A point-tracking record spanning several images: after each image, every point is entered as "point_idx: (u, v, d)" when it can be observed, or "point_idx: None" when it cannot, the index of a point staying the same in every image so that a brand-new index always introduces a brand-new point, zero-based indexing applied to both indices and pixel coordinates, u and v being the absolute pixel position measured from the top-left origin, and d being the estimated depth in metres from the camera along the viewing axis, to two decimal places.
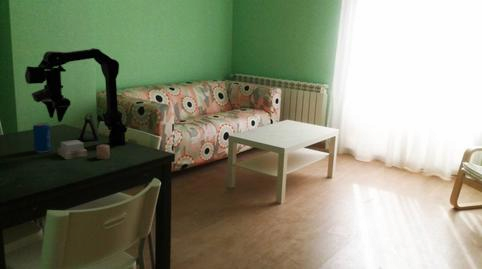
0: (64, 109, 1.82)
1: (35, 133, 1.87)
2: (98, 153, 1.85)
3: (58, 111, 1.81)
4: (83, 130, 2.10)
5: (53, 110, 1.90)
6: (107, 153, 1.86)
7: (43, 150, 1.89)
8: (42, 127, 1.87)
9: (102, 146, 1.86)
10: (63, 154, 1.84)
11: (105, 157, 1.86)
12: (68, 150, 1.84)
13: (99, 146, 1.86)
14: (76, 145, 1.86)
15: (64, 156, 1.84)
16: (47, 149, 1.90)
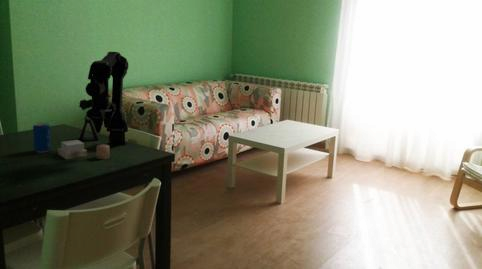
0: (100, 121, 1.78)
1: (35, 133, 1.87)
2: (98, 153, 1.85)
3: (94, 122, 1.78)
4: (83, 130, 2.10)
5: (108, 120, 1.89)
6: (107, 153, 1.86)
7: (43, 150, 1.89)
8: (42, 127, 1.87)
9: (102, 146, 1.86)
10: (63, 154, 1.84)
11: (105, 157, 1.86)
12: (68, 150, 1.84)
13: (99, 146, 1.86)
14: (76, 145, 1.86)
15: (64, 156, 1.84)
16: (47, 149, 1.90)
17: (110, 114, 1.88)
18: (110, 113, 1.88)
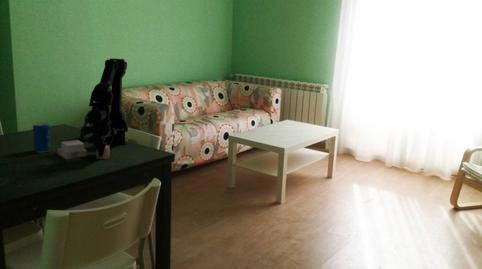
0: (102, 145, 1.82)
1: (35, 133, 1.87)
2: None
3: (97, 146, 1.82)
4: None
5: None
6: (107, 153, 1.86)
7: (43, 150, 1.89)
8: (42, 127, 1.87)
9: None
10: (63, 154, 1.84)
11: (105, 157, 1.86)
12: (68, 150, 1.83)
13: None
14: (76, 145, 1.85)
15: (64, 156, 1.84)
16: (47, 149, 1.90)
17: (109, 140, 1.89)
18: (109, 139, 1.89)
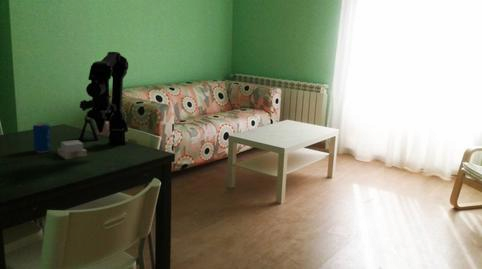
0: (102, 120, 1.79)
1: (35, 133, 1.87)
2: (97, 128, 1.82)
3: (96, 121, 1.80)
4: (83, 130, 2.10)
5: None
6: (107, 128, 1.84)
7: (43, 150, 1.89)
8: (42, 127, 1.87)
9: None
10: (63, 154, 1.84)
11: (104, 133, 1.83)
12: (67, 150, 1.83)
13: None
14: (75, 145, 1.85)
15: (64, 156, 1.84)
16: (47, 149, 1.90)
17: (109, 115, 1.87)
18: (109, 114, 1.87)
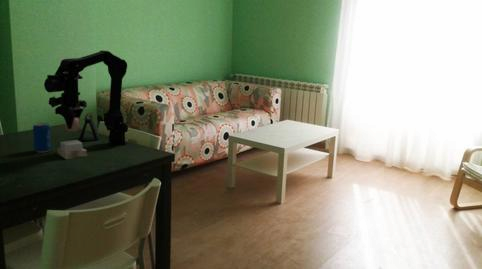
0: (71, 117, 1.80)
1: (35, 133, 1.87)
2: None
3: (65, 118, 1.80)
4: (83, 130, 2.10)
5: None
6: (76, 125, 1.84)
7: (43, 150, 1.89)
8: (42, 127, 1.87)
9: None
10: (63, 154, 1.84)
11: (74, 129, 1.84)
12: (66, 150, 1.83)
13: None
14: (74, 145, 1.85)
15: (64, 156, 1.84)
16: (47, 149, 1.90)
17: (79, 112, 1.87)
18: (79, 111, 1.87)
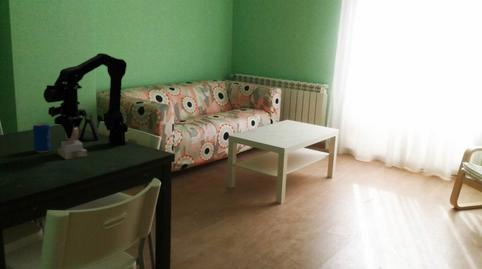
0: (70, 126, 1.81)
1: (35, 133, 1.87)
2: None
3: (65, 127, 1.82)
4: (83, 130, 2.10)
5: None
6: (76, 134, 1.85)
7: (43, 150, 1.89)
8: (42, 127, 1.87)
9: None
10: (63, 154, 1.84)
11: (73, 138, 1.85)
12: (66, 150, 1.83)
13: None
14: (75, 145, 1.85)
15: (64, 156, 1.84)
16: (47, 149, 1.90)
17: (78, 121, 1.88)
18: (78, 120, 1.88)
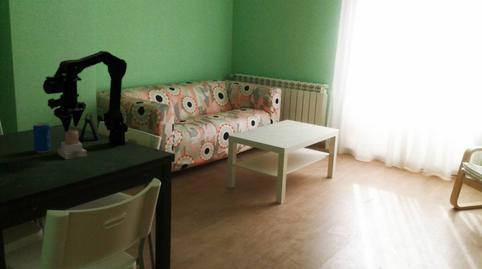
0: (68, 119, 1.79)
1: (35, 133, 1.87)
2: (66, 138, 1.85)
3: (62, 120, 1.79)
4: (83, 130, 2.10)
5: (77, 119, 1.90)
6: (76, 138, 1.86)
7: (43, 150, 1.89)
8: (42, 127, 1.87)
9: (71, 131, 1.86)
10: (63, 154, 1.84)
11: (73, 142, 1.85)
12: (66, 150, 1.84)
13: None
14: (74, 146, 1.85)
15: (64, 156, 1.84)
16: (47, 149, 1.90)
17: (79, 113, 1.89)
18: (79, 112, 1.89)
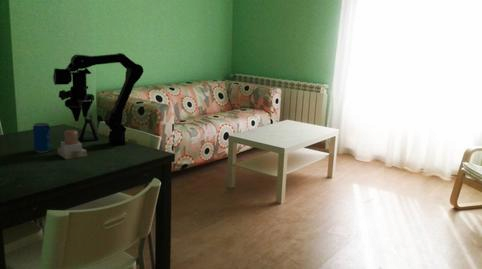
0: (78, 110, 1.90)
1: (35, 133, 1.87)
2: (66, 138, 1.84)
3: (72, 111, 1.90)
4: (83, 130, 2.10)
5: (86, 110, 2.01)
6: (75, 138, 1.86)
7: (43, 150, 1.89)
8: (42, 127, 1.87)
9: (70, 131, 1.85)
10: (63, 154, 1.84)
11: (73, 142, 1.85)
12: (65, 150, 1.83)
13: (67, 131, 1.85)
14: (74, 146, 1.85)
15: (64, 156, 1.84)
16: (47, 149, 1.90)
17: (88, 104, 2.01)
18: (88, 103, 2.01)
